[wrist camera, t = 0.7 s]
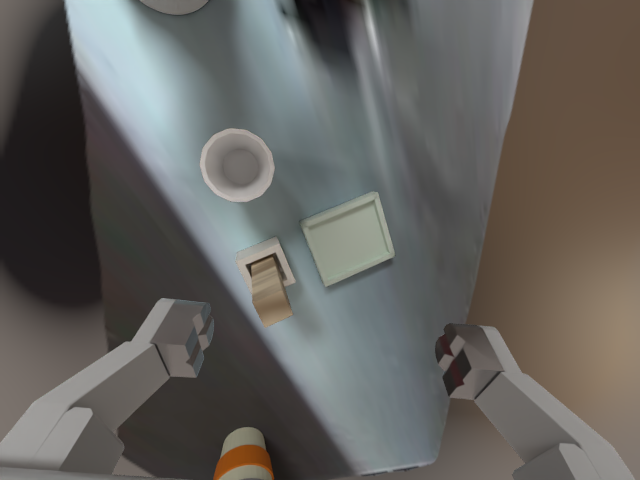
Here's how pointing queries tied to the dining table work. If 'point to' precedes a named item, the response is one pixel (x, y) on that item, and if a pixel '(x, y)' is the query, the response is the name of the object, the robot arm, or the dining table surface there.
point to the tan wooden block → (269, 291)
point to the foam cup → (237, 165)
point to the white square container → (259, 252)
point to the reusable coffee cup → (244, 457)
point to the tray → (348, 238)
